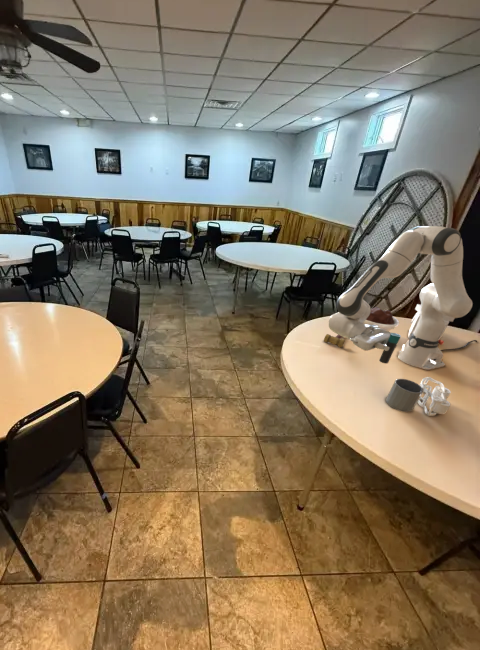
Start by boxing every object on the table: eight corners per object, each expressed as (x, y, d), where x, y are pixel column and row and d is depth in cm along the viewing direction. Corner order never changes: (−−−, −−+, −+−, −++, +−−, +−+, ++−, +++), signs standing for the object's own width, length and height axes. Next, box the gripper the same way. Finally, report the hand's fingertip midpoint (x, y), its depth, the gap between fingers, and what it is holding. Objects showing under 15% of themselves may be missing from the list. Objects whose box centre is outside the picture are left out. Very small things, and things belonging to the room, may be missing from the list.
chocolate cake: (341, 323, 204) (349, 301, 197) (373, 322, 210) (382, 300, 203) (368, 340, 184) (378, 316, 176) (402, 338, 190) (413, 315, 182)
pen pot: (400, 396, 136) (409, 378, 131) (418, 411, 128) (429, 392, 123) (380, 397, 134) (389, 379, 129) (397, 412, 126) (408, 393, 121)
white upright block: (438, 331, 205) (452, 305, 196) (440, 347, 183) (456, 319, 174) (405, 323, 213) (417, 297, 204) (403, 338, 191) (416, 310, 182)
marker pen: (384, 359, 134) (396, 332, 128) (390, 363, 132) (402, 336, 125) (377, 359, 134) (388, 332, 127) (382, 363, 131) (395, 336, 124)
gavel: (336, 326, 190) (353, 332, 185) (334, 333, 192) (351, 339, 187) (325, 334, 175) (343, 340, 170) (322, 342, 177) (340, 348, 172)
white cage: (443, 421, 123) (452, 406, 120) (411, 409, 129) (419, 394, 125) (444, 398, 138) (452, 384, 134) (415, 388, 143) (423, 374, 139)
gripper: (349, 331, 132) (381, 345, 122) (377, 324, 141) (408, 336, 132) (344, 345, 135) (374, 359, 125) (372, 336, 145) (402, 350, 135)
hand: (392, 348), depth 128 cm, fingers closed on marker pen, 3 cm apart
